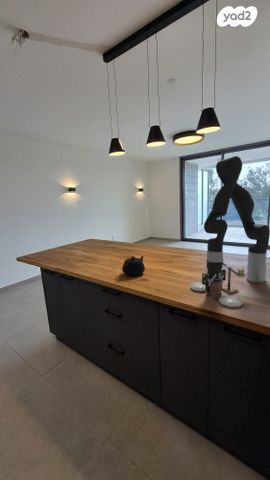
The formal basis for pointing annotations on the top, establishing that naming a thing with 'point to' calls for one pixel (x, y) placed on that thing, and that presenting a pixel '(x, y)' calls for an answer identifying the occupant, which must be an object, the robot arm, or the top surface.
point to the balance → (228, 288)
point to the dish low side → (230, 301)
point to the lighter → (215, 288)
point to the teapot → (133, 266)
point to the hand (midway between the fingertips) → (213, 290)
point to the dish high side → (197, 286)
